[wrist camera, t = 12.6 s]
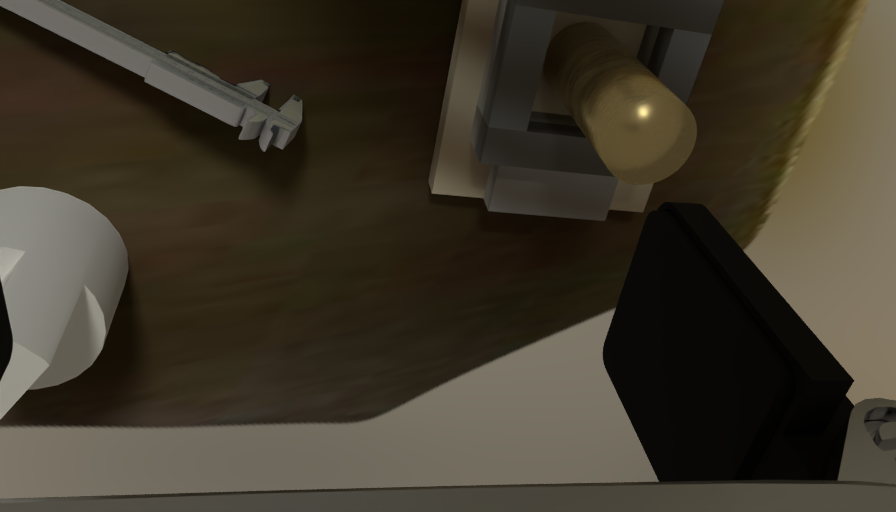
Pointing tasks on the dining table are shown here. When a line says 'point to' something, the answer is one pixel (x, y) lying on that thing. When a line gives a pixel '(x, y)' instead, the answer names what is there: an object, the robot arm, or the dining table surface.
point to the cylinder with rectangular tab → (55, 286)
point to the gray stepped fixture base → (549, 102)
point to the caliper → (171, 73)
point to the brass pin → (619, 104)
